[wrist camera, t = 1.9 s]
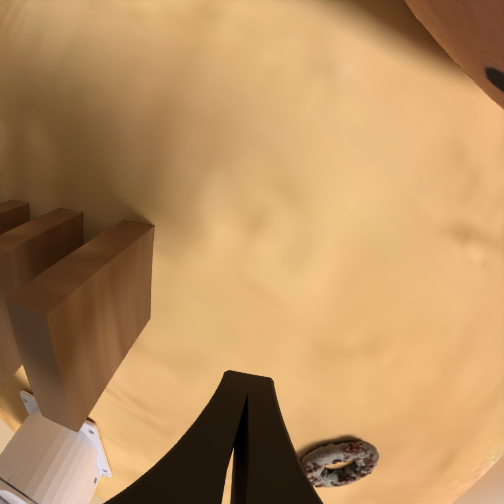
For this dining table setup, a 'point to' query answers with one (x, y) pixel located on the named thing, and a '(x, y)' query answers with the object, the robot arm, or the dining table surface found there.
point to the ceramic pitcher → (469, 37)
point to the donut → (339, 452)
